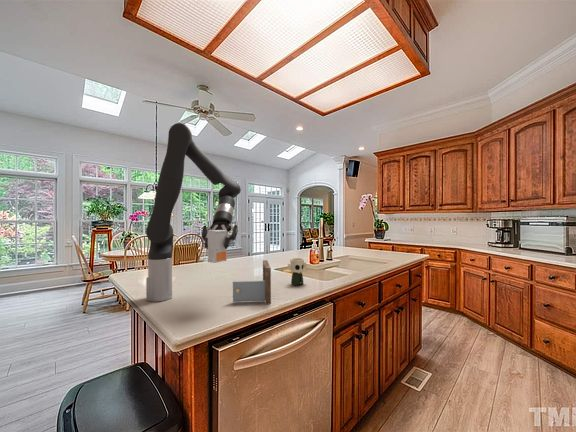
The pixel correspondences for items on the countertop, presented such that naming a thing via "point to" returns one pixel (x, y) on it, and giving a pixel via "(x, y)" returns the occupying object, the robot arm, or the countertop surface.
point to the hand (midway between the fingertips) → (216, 247)
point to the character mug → (297, 270)
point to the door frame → (267, 280)
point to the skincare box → (216, 246)
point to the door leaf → (249, 291)
